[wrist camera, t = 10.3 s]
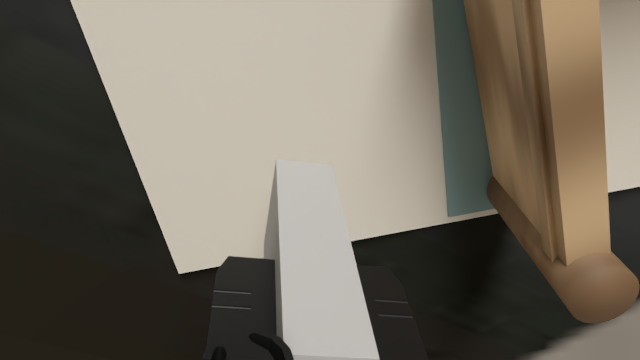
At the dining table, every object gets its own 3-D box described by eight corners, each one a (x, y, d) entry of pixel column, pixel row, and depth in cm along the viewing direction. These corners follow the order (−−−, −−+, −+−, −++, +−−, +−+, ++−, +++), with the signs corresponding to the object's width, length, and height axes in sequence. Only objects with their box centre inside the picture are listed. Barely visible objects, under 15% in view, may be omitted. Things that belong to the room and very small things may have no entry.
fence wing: (423, -160, 16) (516, -209, 10) (491, -184, 16) (632, -251, 9) (490, 214, 23) (571, 330, 16) (538, 200, 23) (639, 312, 16)
